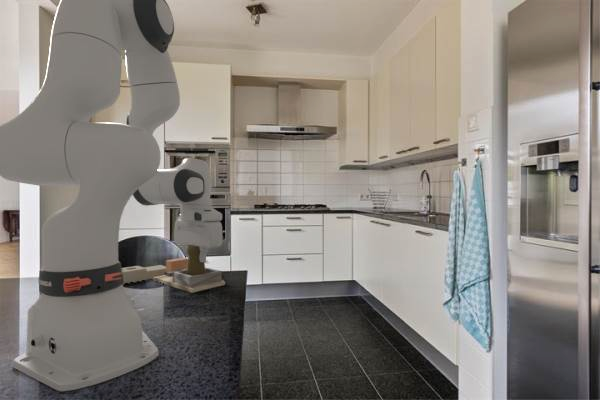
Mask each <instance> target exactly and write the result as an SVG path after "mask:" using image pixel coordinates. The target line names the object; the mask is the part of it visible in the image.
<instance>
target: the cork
mask: <svg viewBox="0 0 600 400" xmlns="http://www.w3.org/2000/svg"><path fill="white" fill-rule="evenodd" d="M200 252H201V251H200V247H198V246H192V245H190V246H188V248H187V251H186V254H187V256H188V255H189V260H188V267H187V269H186V270H187V275H191V276H195V275H200V274H205V273H206V271H205V267H206V265H205V262H199V261H198V256H200Z"/></svg>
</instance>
